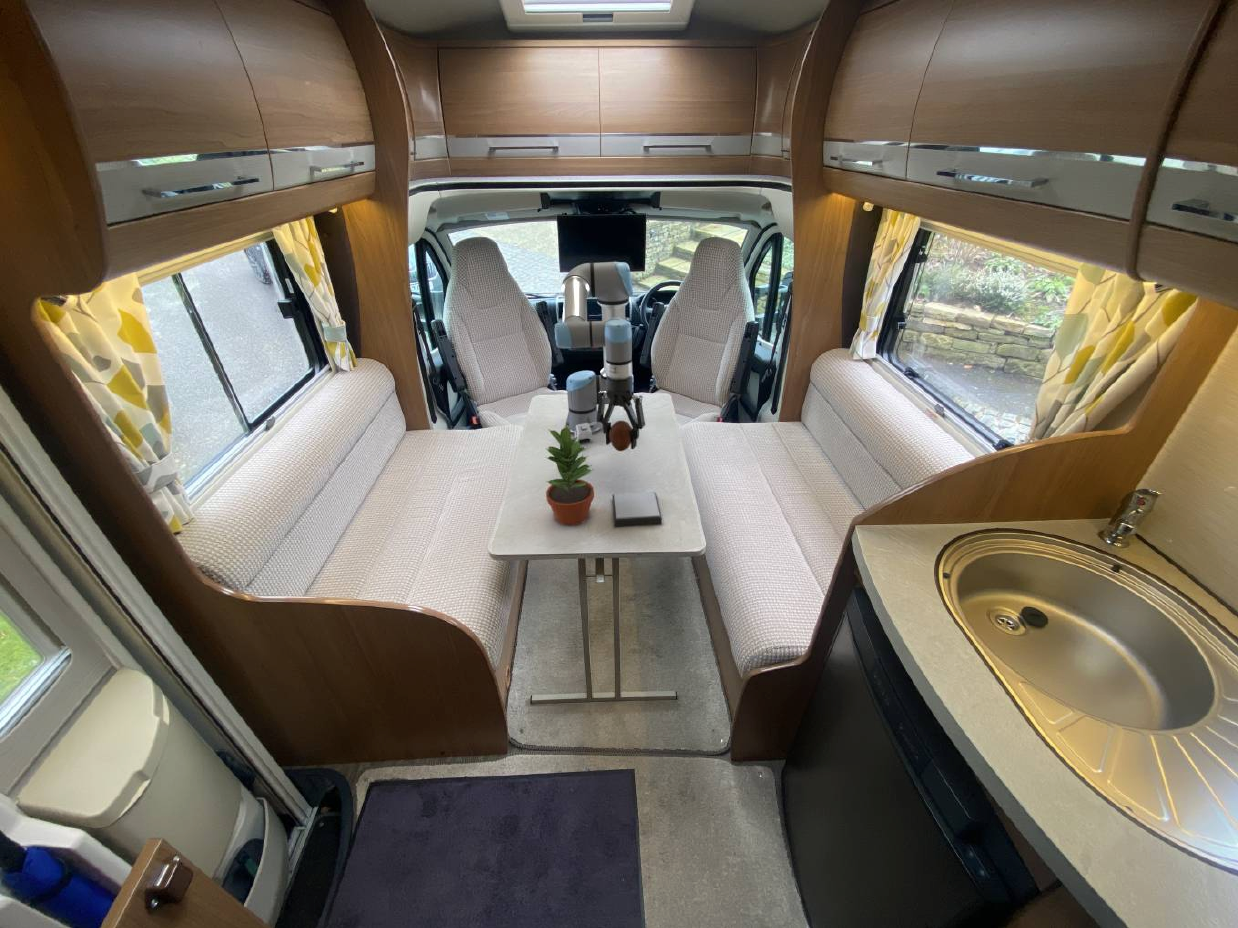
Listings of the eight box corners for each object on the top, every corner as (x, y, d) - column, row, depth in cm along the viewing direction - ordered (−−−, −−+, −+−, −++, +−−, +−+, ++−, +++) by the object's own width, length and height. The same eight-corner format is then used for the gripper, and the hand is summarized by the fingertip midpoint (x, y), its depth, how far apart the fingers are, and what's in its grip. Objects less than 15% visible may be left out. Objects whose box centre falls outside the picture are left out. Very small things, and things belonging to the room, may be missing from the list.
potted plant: (602, 523, 150) (598, 435, 135) (553, 533, 147) (542, 443, 132) (591, 497, 163) (585, 413, 148) (545, 506, 159) (534, 421, 144)
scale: (612, 500, 161) (612, 492, 160) (655, 498, 162) (655, 490, 160) (614, 526, 149) (614, 518, 147) (661, 524, 150) (661, 516, 148)
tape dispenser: (576, 446, 198) (579, 436, 188) (572, 431, 200) (575, 421, 190) (590, 444, 199) (594, 434, 190) (586, 429, 201) (589, 418, 192)
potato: (608, 454, 151) (607, 430, 148) (609, 437, 161) (609, 414, 157) (633, 454, 151) (633, 430, 147) (633, 437, 161) (633, 414, 157)
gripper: (581, 375, 146) (586, 444, 157) (647, 384, 138) (647, 456, 149) (593, 367, 152) (596, 434, 163) (657, 375, 144) (656, 445, 155)
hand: (621, 444), depth 156 cm, fingers closed on potato, 8 cm apart
